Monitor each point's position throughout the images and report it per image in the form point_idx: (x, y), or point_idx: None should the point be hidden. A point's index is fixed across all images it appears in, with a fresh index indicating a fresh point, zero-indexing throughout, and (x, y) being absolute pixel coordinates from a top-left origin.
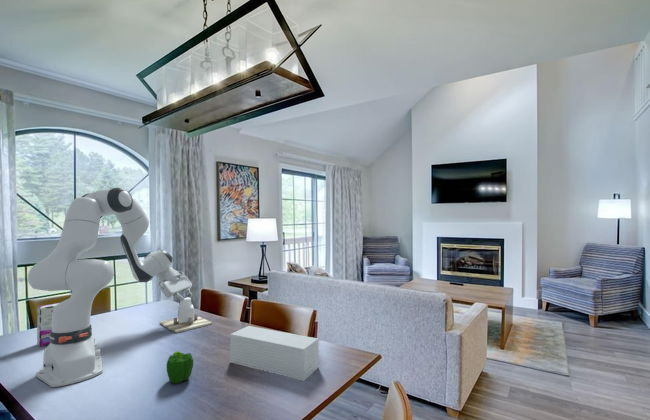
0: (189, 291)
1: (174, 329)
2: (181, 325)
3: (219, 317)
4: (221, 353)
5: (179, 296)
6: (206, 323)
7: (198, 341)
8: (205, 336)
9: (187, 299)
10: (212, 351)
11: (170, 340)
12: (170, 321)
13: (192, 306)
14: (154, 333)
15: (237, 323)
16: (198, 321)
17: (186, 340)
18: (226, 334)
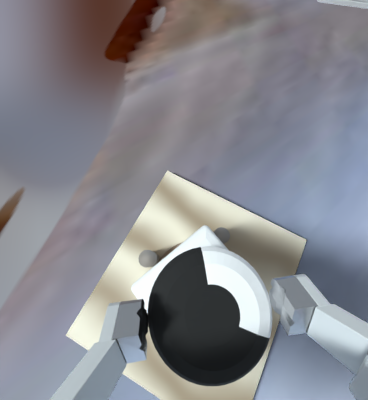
0: (100, 362)
1: (295, 261)
2: None
3: (77, 193)
4: (353, 39)
5: (347, 322)
6: (187, 181)
7: (323, 122)
8: (281, 126)
9: (242, 260)
10: (355, 59)
11: (363, 208)
12: None
13: (186, 247)
14: None
15: (139, 99)
16: (172, 229)
17: (335, 159)
18: (243, 83)
